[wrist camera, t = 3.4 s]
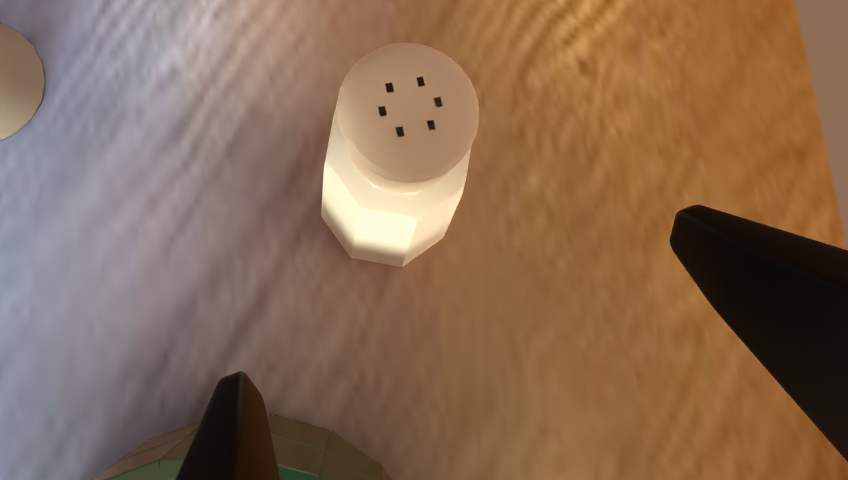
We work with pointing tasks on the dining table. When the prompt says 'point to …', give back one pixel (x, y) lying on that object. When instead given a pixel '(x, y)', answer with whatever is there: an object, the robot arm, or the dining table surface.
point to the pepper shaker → (398, 152)
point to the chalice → (18, 81)
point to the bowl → (293, 446)
